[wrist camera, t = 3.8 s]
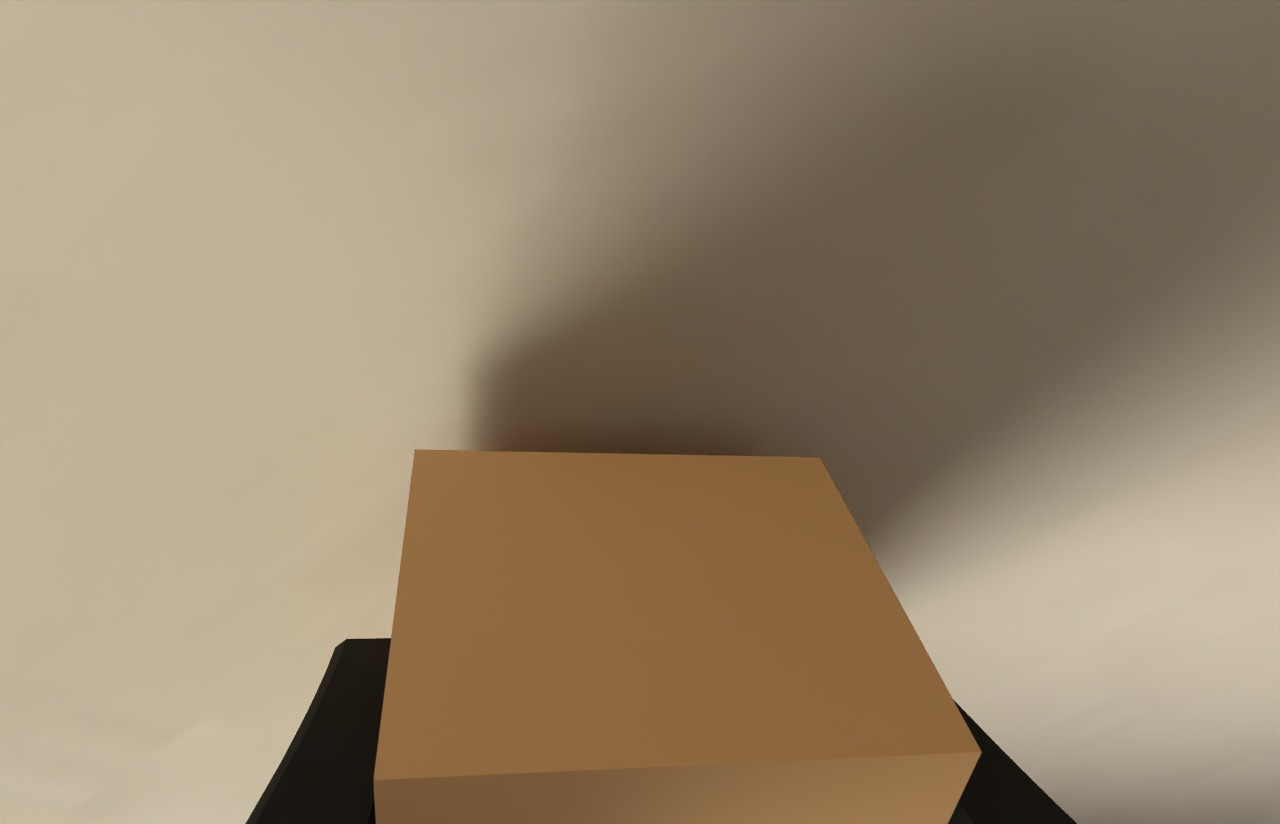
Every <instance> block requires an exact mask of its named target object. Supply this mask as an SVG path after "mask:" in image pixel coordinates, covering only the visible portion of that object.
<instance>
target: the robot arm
mask: <svg viewBox="0 0 1280 824" xmlns="http://www.w3.org/2000/svg"><path fill="white" fill-rule="evenodd" d="M390 644H391V638H378V639H346V640H345V641H343V642H342V643H341V644H339V645H338V646H337V647H335V650H334V652H333V655H332V657H331V660H330V663H329V665H328V668H327V670H326V672H325V675H324V677H323V679H322V681H321V684H320V686H319V688H318V690H317V693H316V695H315V697H314V699H313V701H312V703H311V705H310V707H309V709H308V711H307V713H306V715H305V717H304V719H303V721H302V723H301V725H300V727H299V729H298V731H297V733H296V735H295V737H294V739H293V741H292V742H291V744H290V746H289V748H288V750H287V752H286V754H285V756H284V758H283V760H282V761H281V763H280V765H279V767H278V769H277V770H276V772H275V774H274V775H273V777H272V779H271V781H270V782H269V784H268V786H267V788H266V789H265V791H264V793H263V795H262V796H261V798H260V800H259V801H258V803H257V805H256V807H255V808H254V810H253V812H252V814H251V815H250V817H249V819H248V821H247V822H246V824H376V819H375V800H374V781H373V780H374V772H375V764H376V756H377V748H378V740H379V732H380V724H381V716H382V708H383V700H384V692H385V684H386V676H387V668H388V660H389V652H390ZM953 701H954V700H953ZM954 702H955V701H954ZM955 704H956V706H957V708H958V710H959V711H960V713H961V715H962V717H963V719H964V721H965V722H966V724H967V726H968V728H969V730H970V732H971V733H972V735H973V737H974V739H975V741H976V742H977V744H978V746H979V748H980V750H981V752H982V753H981V755H980V757H979V759H978V761H977V763H976V765H975V767H974V769H973V772H972V774H971V776H970V778H969V780H968V782H967V784H966V786H965V788H964V791H963V793H962V795H961V797H960V799H959V801H958V803H957V805H956V807H955V810H954V812H953V814H952V816H951V818H950V820H949V822H948V824H1077V823H1076V822H1075V821H1074V820H1073V819H1072V818H1071V817H1070V816H1069V815H1068V814H1066V813H1065V812H1064V811H1063V810H1062V809H1061V808H1060V807H1059V806H1058V805H1057V804H1056V803H1055V802H1054V801H1053V800H1052V799H1051V798H1050V797H1049V796H1048V795H1047V794H1046V793H1045V792H1044V791H1043V790H1042V789H1041V788H1040V787H1039V786H1038V785H1037V784H1036V783H1035V782H1034V781H1033V780H1032V779H1031V778H1030V777H1029V776H1028V775H1027V774H1026V773H1025V772H1024V771H1023V770H1022V769H1021V768H1020V767H1019V766H1018V765H1017V764H1016V763H1015V762H1014V761H1013V760H1012V759H1011V758H1010V757H1009V756H1008V755H1007V754H1006V753H1005V752H1004V751H1003V750H1002V749H1001V748H1000V747H999V746H998V745H997V744H996V743H995V742H994V741H993V740H992V739H991V738H990V737H989V736H988V735H987V734H986V733H985V732H984V731H983V730H982V729H981V728H980V727H979V726H978V725H977V724H976V723H975V722H974V721H973V720H972V718H971V717H970V716H969V715H968V714H967V713H966V712H965V711H964V710H963V709H962V708H961V707H960V706H959V705H958V704H957V703H956V702H955Z"/></svg>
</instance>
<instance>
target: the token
mask: <svg viewBox="0 0 1280 824" xmlns="http://www.w3.org/2000/svg"><path fill="white" fill-rule="evenodd" d="M981 753H982V752H981V750H980V748H979V746H978V744H977V742H976V741H975V739H974V737H973V735H972V733H971V732H970V730H969V728H968V726H967V724H966V722H965V721H964V719H963V717H962V715H961V713H960V711H959V710H958V708H957V706H956V704H955V702H954V701H953V699H952V697H951V695H950V693H949V691H948V690H947V688H946V686H945V684H944V682H943V680H942V679H941V677H940V675H939V673H938V671H937V670H936V668H935V666H934V664H933V662H932V660H931V659H930V657H929V655H928V653H927V651H926V650H925V648H924V646H923V644H922V642H921V640H920V639H919V637H918V635H917V633H916V631H915V629H914V628H913V626H912V624H911V622H910V620H909V619H908V617H907V615H906V613H905V611H904V609H903V608H902V606H901V604H900V602H899V600H898V598H897V597H896V595H895V593H894V591H893V589H892V588H891V586H890V584H889V582H888V580H887V578H886V577H885V575H884V573H883V571H882V569H881V567H880V566H879V564H878V562H877V560H876V558H875V557H874V555H873V553H872V551H871V549H870V547H869V546H868V544H867V542H866V540H865V538H864V536H863V535H862V533H861V531H860V529H859V527H858V526H857V524H856V522H855V520H854V518H853V516H852V515H851V513H850V511H849V509H848V507H847V505H846V504H845V502H844V500H843V498H842V496H841V495H840V493H839V491H838V489H837V487H836V485H835V484H834V482H833V480H832V478H831V476H830V475H829V473H828V471H827V469H826V467H825V465H824V464H823V462H822V460H821V458H820V457H778V456H725V455H672V454H619V453H565V452H512V451H459V450H415V453H414V461H413V469H412V477H411V485H410V493H409V501H408V509H407V517H406V525H405V533H404V541H403V549H402V557H401V565H400V573H399V581H398V589H397V597H396V604H395V612H394V620H393V628H392V636H391V644H390V652H389V660H388V668H387V676H386V684H385V692H384V700H383V708H382V716H381V724H380V732H379V740H378V748H377V756H376V764H375V772H374V780H373V781H374V800H375V819H376V824H948V822H949V820H950V818H951V816H952V814H953V812H954V810H955V807H956V805H957V803H958V801H959V799H960V797H961V795H962V793H963V791H964V788H965V786H966V784H967V782H968V780H969V778H970V776H971V774H972V772H973V769H974V767H975V765H976V763H977V761H978V759H979V757H980V755H981Z"/></svg>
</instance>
